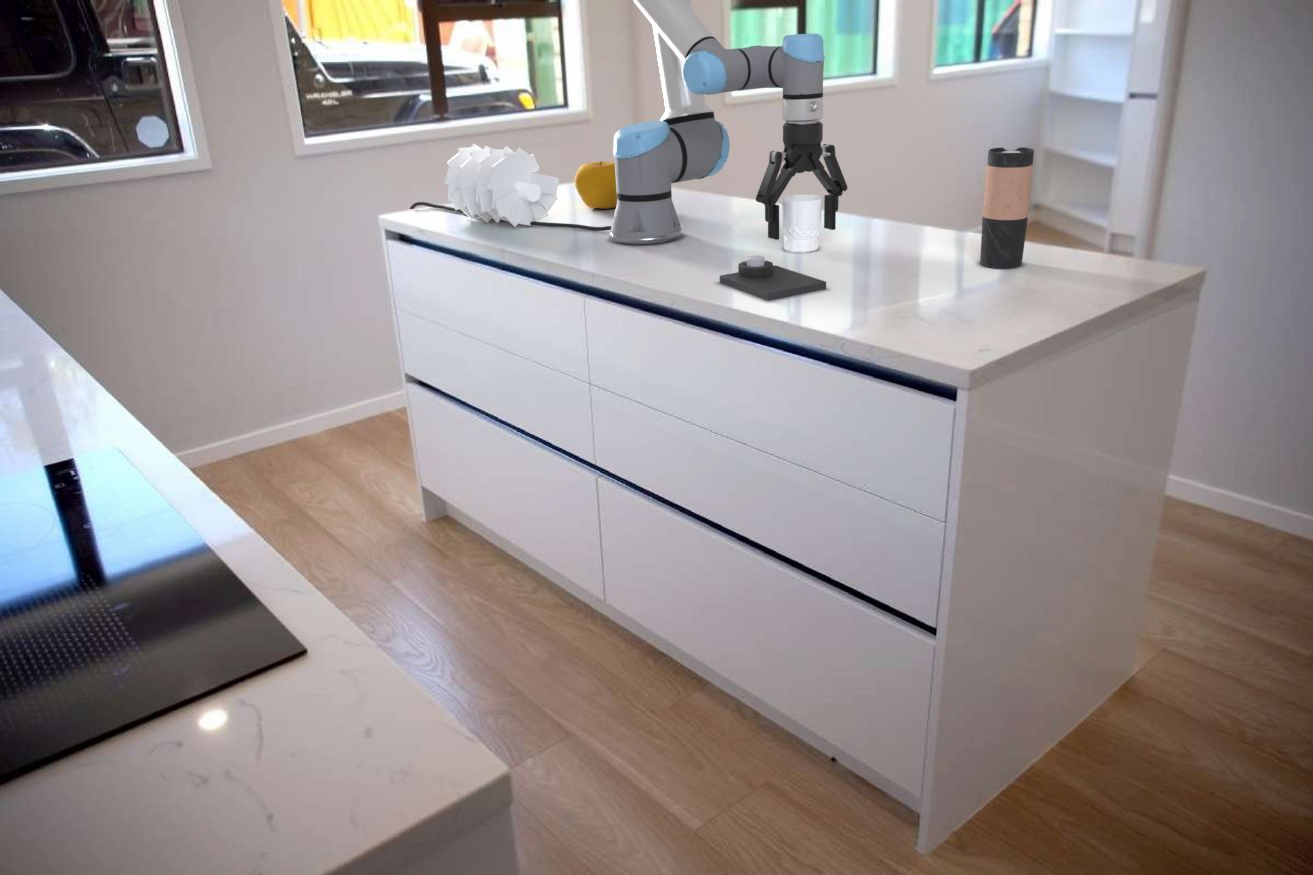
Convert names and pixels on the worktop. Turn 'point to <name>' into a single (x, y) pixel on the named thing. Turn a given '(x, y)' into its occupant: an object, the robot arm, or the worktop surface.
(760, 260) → the button
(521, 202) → the spiral staircase
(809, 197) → the white cup
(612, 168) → the apple
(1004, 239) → the travel mug
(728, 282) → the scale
